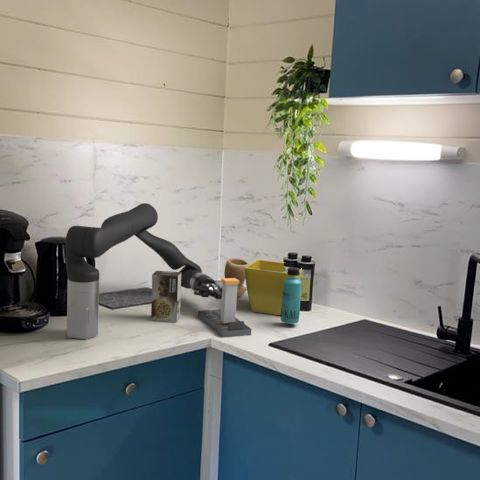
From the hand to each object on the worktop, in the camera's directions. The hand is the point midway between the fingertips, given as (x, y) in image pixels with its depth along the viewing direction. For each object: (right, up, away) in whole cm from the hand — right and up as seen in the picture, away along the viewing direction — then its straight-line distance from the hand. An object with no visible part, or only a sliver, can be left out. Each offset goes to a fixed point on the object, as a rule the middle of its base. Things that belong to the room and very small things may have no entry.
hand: (219, 296), depth 206 cm
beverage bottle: (+24, -10, +1) cm, 26 cm away
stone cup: (+5, -3, +39) cm, 40 cm away
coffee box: (-18, -8, 0) cm, 20 cm away
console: (+1, -9, -3) cm, 10 cm away
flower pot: (+19, -7, +20) cm, 28 cm away
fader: (+3, -8, -7) cm, 11 cm away
